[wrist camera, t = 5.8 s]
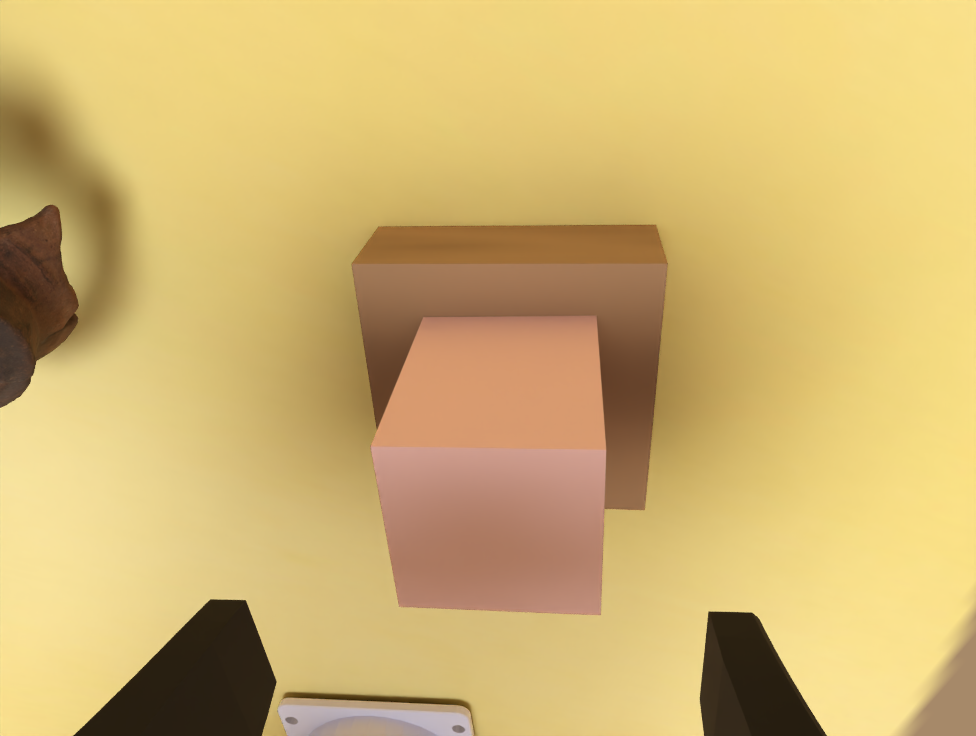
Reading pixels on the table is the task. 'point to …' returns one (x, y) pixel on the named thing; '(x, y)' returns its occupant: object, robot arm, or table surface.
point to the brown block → (528, 310)
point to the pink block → (496, 466)
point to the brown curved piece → (32, 299)
